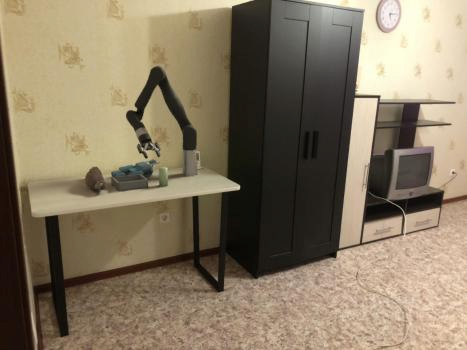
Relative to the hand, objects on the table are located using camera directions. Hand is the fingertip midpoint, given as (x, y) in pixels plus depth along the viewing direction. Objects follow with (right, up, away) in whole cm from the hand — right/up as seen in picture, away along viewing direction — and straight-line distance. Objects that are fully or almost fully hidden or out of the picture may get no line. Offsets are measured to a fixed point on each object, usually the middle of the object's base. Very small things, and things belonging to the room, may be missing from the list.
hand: (153, 157), depth 231 cm
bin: (-12, -18, -8) cm, 23 cm away
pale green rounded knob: (+7, -17, -4) cm, 19 cm away
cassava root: (-33, -18, -10) cm, 39 cm away
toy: (-14, -12, +15) cm, 24 cm away
